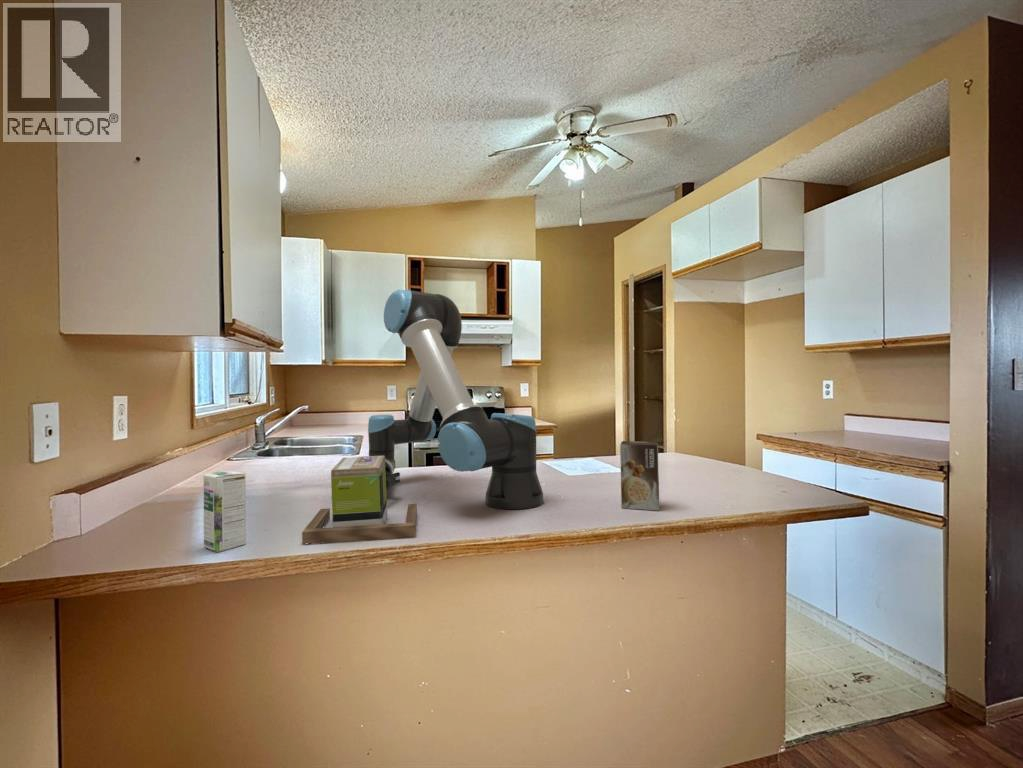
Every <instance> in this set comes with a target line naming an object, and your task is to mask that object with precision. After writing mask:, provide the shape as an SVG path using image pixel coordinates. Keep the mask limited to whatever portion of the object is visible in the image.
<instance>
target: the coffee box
mask: <svg viewBox="0 0 1023 768" xmlns="http://www.w3.org/2000/svg"><path fill="white" fill-rule="evenodd" d="M658 444H659V443H658V441H641V440H640V441H637V440H636V441H633V440H626V441H625V440H622V441H621V442H620V445H619V447H620V448H619V451H620V454H619V455H620V457H619V458H620V498H621V499H620V500H621V501H620V502H621V506H620V508H621V509H625V510H626V509H627V510H643V511H644V510H645V511H658V512H659V511H660V507H661V505H660V504H661V503H660V483H659V482H660V481H659V478H660V475H659V445H658Z"/></svg>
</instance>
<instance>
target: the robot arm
mask: <svg viewBox="0 0 1023 768" xmlns="http://www.w3.org/2000/svg"><path fill="white" fill-rule="evenodd" d="M383 322H384V323H383V324H384V327H385V329H386V330H387V331H388V332H390V333H392V334H398V336H399V338H400V340H401V343H402V344H403V345H404V346H406V347H407V348H411V351H412V354H413V355H414V357H415V360H416V363H417V365H418V367H419V369H420V373H419V376H418V380H417V384H416V387H415V391H414V393H413V398H412V400H411V405H410V409H409V412H408V416H407V418H406V419H395V417H394V415H392V414H373V415H371V416H369V418H368V424H367V427H368V428H367V433H368V434H367V436H368V456H384V455H385V471H386V491H387V490H388V489H390V488H392V487H393V486H394V485H395V484H397V483H400V482H401V472H397V471H396V472H395V469H396V460H395V445H401V444H411V443H422V442H425V441H430V440H432V439H433V438H434V437H435V435H436V432H437V424H436V422H435V420H434V419H433V416H434V413H435V411H436V407H437V409H438V411H439V413H440V415H441V417H442V420H441V422H440V425H439V428H440V430H439V432H438V435H437V442H438V443H439V444H437V448H438V453H439V454H440V457H441V459H442V460H443V462H444V463H445V464H446V466H447V467H449V469H452V470H453V471H457V472H463V473H464V472H475V471H479V470H482V469H486V468H487V469H488V468H491V475H490V478H489V482H488V485H487V488H486V491H485V504H486V505H487V506H489V507H492V508H497V509H503V510H524V509H531V508H535V507H538V506H540V505H542V504H544V491H543V488H542V486H541V481H540V479H539V477H538V473H537V425H536V419H535V417H533V416H531V415H526V414H525V415H523V414H515V413H514V414H511V413H501V412H498V413H497V412H494V413H492V414H491V416H490V419H489V418H488V415H487V413H486V412H485V410H484V408H483V407H482V406H481V405H478V404H475V402H474V401H473V399H472V397H471V395H470V393H469V390H468V389H467V386H466V385H465V383H464V380H463V378H462V377H461V374H460V372H459V370H458V368H457V366H456V364H455V362H454V360H453V357H452V354H453V352H454V349H456V348H457V347H459V343H460V340H461V337H462V329H463V327H462V326H463V325H462V324H463V323H462V316H461V313H460V311H459V308H458V306H457V305H456V304H455V303H454V301H453V300H452V299H451V298H449V297H448V296H446V295H443V294H438V293H430V292H424V291H423V292H422V291H417V290H411V289H397V290H394V291H392V292H391V294H390V295H389V296H388V298H387V300H386V302H385V306H384V310H383Z"/></svg>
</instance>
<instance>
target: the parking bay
mask: <svg viewBox="0 0 1023 768" xmlns="http://www.w3.org/2000/svg"><path fill="white" fill-rule="evenodd" d="M417 510H418V505H417V503H408V505H407V510H406V516H405V522H403V523H402V522H401V523H398V522H397V523H385V524H381V525H365V526H349V527H333V526H332V527H326V526H325V525H327V524H328V523H329V521H330V520H331V511H330V508H320V509H319V510H318V512H317V513H316V514H315V515H314V517H313V518H311V521H310V522H309V523H308V524H307V525H306V526H305V528H304V529H303V531H302V532H301V539H302V541H301V543H302V544H306V543H308V544H306V545H310V544H309V543H321V544H323V543H322V542H337V543H341V542H340V541H352V542H356V541H355V540H367V541H377V540H376V539H382V540H392V539H393V538H397V539H408V538H410V539H411V538H416V531H417V518H418V516H417V515H418V511H417ZM329 519H330V520H329ZM328 520H329V521H328ZM327 522H328V523H327ZM326 523H327V524H326ZM324 526H325V527H324ZM323 527H324V528H323ZM302 544H301V545H302Z"/></svg>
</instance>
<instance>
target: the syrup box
mask: <svg viewBox="0 0 1023 768" xmlns="http://www.w3.org/2000/svg"><path fill="white" fill-rule="evenodd" d="M246 488H247V486H246V472H238V471H233V470H222V471H215V472H214V471H213V472H209V473H205V474H203V548H204V549H206V548H207V549H209V550H211V551H213V552H216V553H220V552H223V551H227V550H231V549H235V548H237V547H240V546H244V545H246V544H247V513H246V512H247V511H246V510H247V509H246V508H247V503H246V502H247V500H246V499H247V498H246V497H247V493H246V492H247V491H246Z"/></svg>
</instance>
